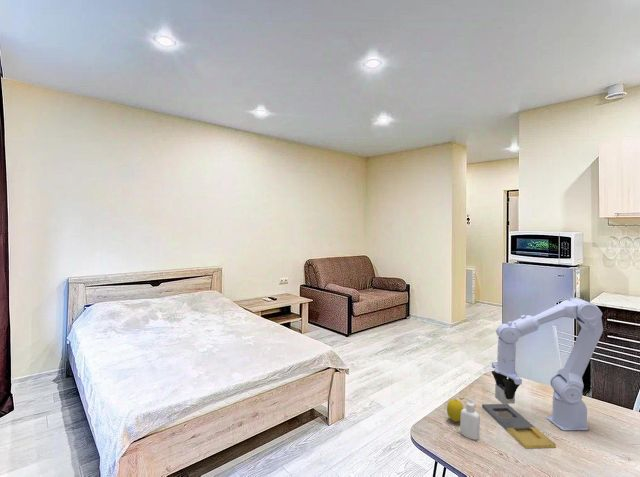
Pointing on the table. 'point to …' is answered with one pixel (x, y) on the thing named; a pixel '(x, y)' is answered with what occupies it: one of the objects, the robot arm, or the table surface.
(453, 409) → the lemon
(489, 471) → the table surface
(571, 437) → the table surface
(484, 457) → the table surface
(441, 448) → the table surface
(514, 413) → the rail
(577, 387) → the robot arm
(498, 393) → the grey cube with hole
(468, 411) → the eye dropper bottle
